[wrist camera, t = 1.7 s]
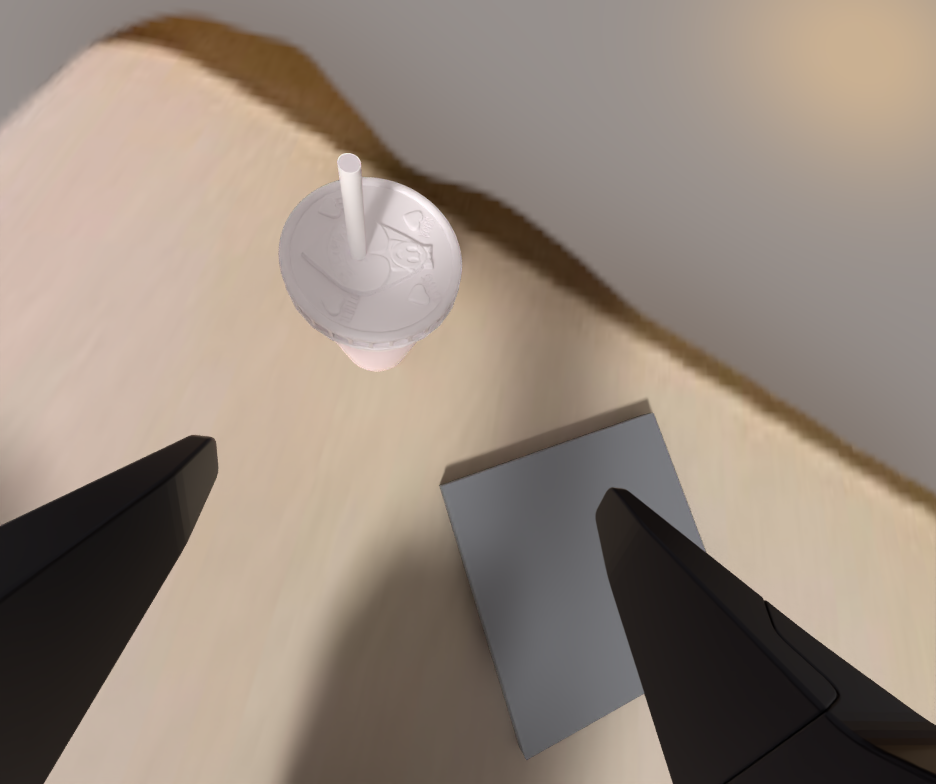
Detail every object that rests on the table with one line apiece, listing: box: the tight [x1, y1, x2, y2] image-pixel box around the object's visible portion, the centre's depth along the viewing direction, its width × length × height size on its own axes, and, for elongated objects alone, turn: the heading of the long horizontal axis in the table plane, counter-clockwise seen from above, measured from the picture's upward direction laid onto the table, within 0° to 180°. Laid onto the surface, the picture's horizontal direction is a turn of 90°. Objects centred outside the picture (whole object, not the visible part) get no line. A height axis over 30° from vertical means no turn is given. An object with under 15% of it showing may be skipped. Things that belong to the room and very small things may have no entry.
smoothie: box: [279, 153, 462, 371], centre depth 17 cm, size 6×6×14 cm
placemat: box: [439, 413, 706, 760], centre depth 23 cm, size 14×14×1 cm
